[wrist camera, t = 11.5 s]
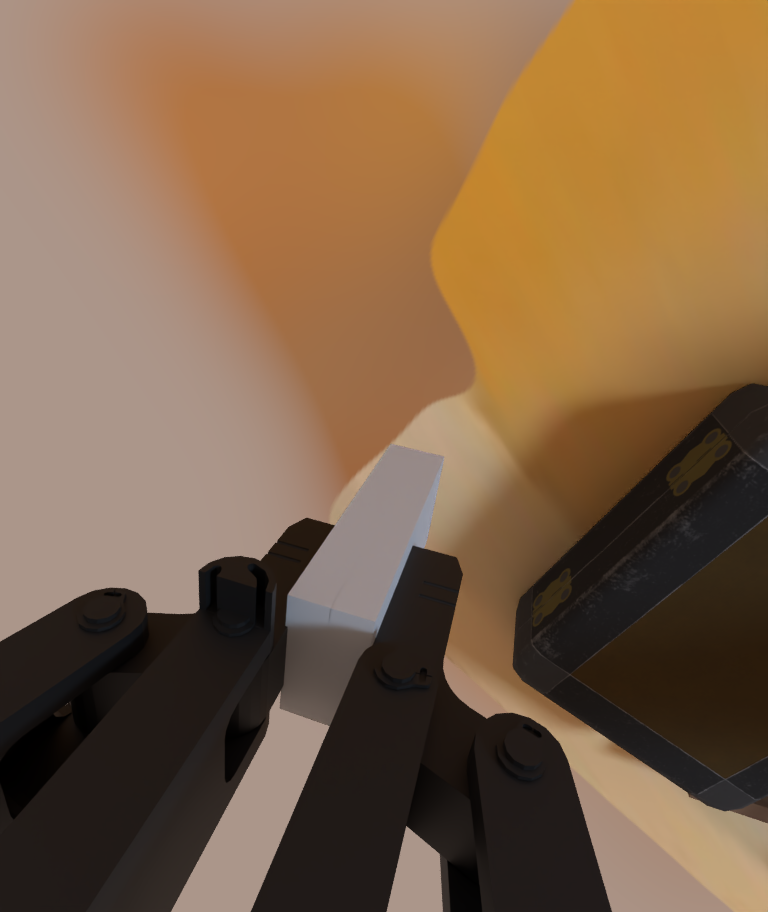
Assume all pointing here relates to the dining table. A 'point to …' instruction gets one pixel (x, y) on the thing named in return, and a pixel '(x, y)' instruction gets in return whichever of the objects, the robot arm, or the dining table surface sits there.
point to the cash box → (670, 614)
